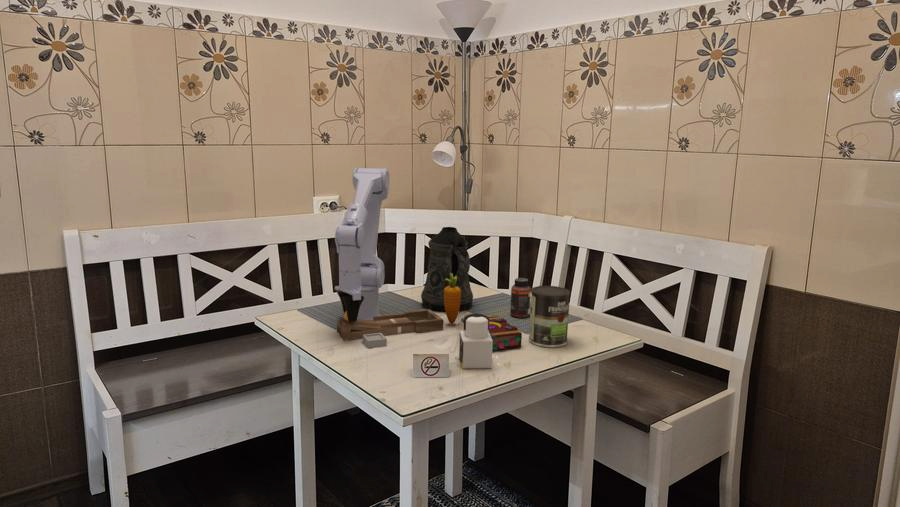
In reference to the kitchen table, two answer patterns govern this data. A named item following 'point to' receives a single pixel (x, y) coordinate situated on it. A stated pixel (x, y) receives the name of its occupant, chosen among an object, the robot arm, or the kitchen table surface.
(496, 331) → the decorative book
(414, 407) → the kitchen table surface
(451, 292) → the carrot
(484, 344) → the medicine bottle
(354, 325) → the brown wooden shallow tray
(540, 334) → the coffee can
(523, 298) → the supplement bottle
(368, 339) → the gray box
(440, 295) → the beer stein
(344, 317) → the ball
